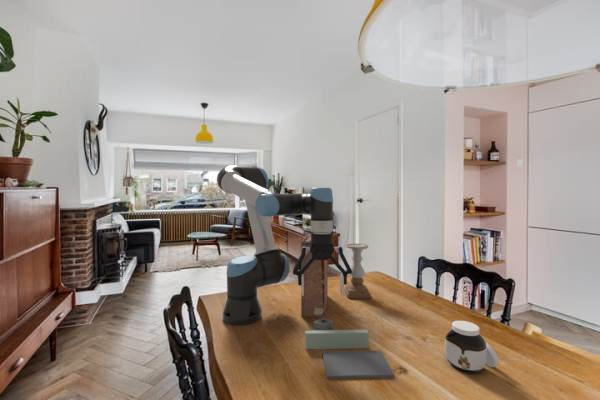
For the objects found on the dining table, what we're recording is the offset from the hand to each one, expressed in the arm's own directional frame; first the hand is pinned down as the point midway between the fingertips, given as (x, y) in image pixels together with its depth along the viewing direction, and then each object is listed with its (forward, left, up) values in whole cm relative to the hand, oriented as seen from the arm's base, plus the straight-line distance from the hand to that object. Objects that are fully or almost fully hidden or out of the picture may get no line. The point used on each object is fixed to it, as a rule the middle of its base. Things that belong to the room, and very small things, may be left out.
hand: (322, 294), depth 103 cm
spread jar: (+41, -19, -15) cm, 47 cm away
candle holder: (+21, +40, -15) cm, 48 cm away
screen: (+4, -8, -14) cm, 17 cm away
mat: (+8, -18, -14) cm, 24 cm away
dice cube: (0, 0, -15) cm, 15 cm away
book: (0, +27, -15) cm, 31 cm away
